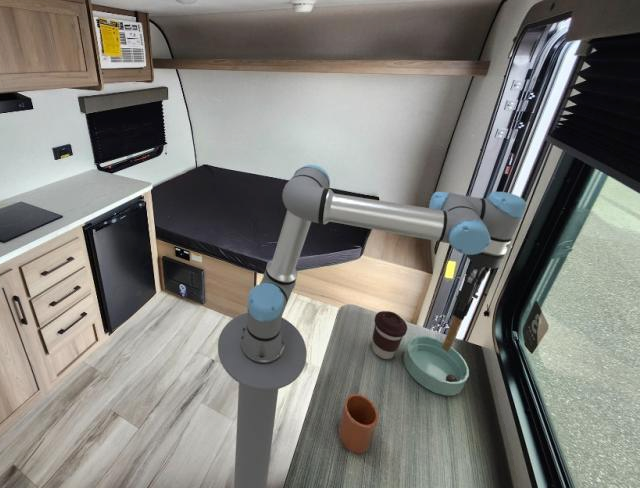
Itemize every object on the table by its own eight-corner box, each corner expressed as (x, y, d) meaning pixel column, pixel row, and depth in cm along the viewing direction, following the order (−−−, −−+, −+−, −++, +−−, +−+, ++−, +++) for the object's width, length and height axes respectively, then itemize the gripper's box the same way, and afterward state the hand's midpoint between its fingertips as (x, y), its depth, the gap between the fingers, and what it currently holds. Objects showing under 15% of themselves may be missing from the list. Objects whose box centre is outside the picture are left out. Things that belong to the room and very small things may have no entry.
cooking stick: (441, 348, 97) (464, 293, 89) (443, 345, 98) (466, 290, 90) (447, 352, 96) (471, 296, 87) (450, 349, 97) (473, 294, 88)
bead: (456, 378, 96) (459, 387, 96) (454, 372, 98) (457, 381, 98) (445, 378, 97) (448, 387, 97) (443, 372, 100) (446, 381, 99)
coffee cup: (399, 367, 103) (410, 334, 97) (368, 358, 106) (377, 325, 100) (396, 343, 112) (406, 311, 106) (367, 335, 115) (375, 304, 109)
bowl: (393, 365, 104) (398, 353, 101) (416, 340, 114) (421, 327, 111) (450, 408, 91) (456, 395, 89) (470, 375, 101) (476, 362, 99)
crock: (331, 432, 85) (338, 406, 80) (349, 413, 89) (356, 387, 85) (358, 461, 79) (367, 434, 74) (375, 438, 84) (384, 412, 79)
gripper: (496, 265, 76) (464, 336, 85) (512, 245, 84) (482, 311, 94) (461, 251, 81) (435, 318, 90) (480, 233, 90) (454, 297, 99)
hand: (459, 315), depth 92 cm, fingers closed on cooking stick, 2 cm apart
